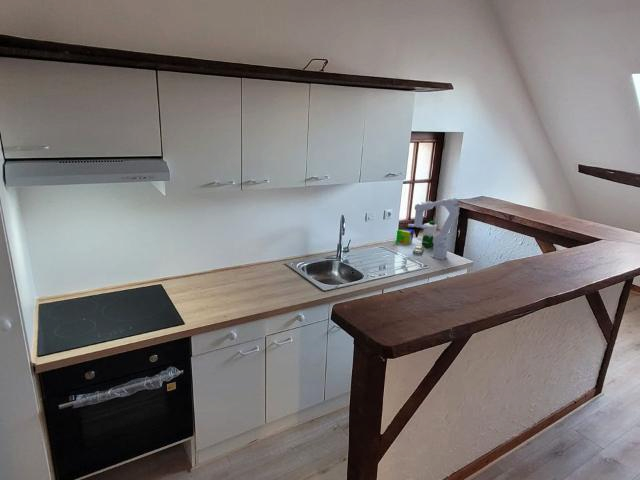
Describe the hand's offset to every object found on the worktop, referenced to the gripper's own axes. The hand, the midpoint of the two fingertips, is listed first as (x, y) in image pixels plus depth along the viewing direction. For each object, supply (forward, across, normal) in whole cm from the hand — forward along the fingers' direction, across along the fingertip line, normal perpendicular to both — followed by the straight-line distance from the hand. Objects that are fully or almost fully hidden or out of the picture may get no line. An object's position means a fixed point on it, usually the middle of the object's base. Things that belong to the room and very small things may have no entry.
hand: (416, 237), depth 309 cm
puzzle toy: (+11, +11, -18) cm, 23 cm away
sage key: (+9, -3, +7) cm, 12 cm away
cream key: (+8, -3, +2) cm, 9 cm away
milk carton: (+11, -8, -14) cm, 19 cm away
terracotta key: (+8, -3, -3) cm, 9 cm away
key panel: (+10, -3, +2) cm, 11 cm away
